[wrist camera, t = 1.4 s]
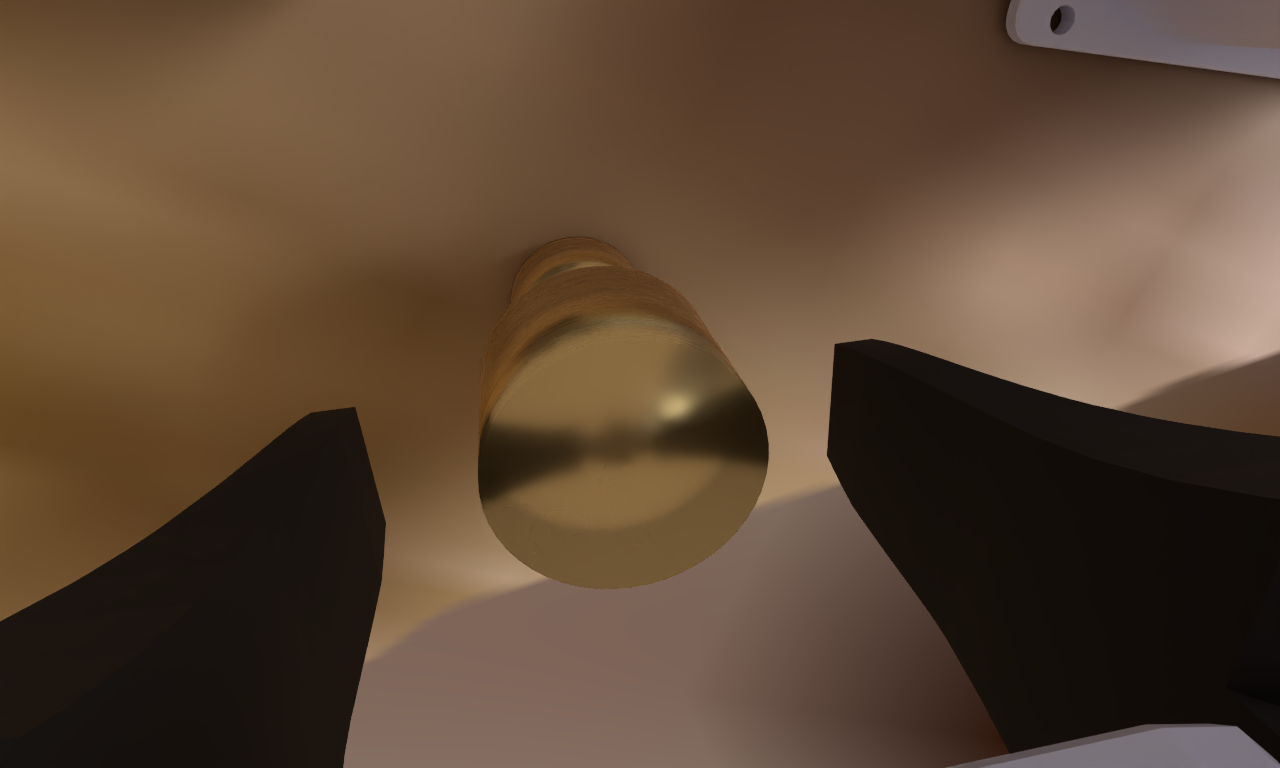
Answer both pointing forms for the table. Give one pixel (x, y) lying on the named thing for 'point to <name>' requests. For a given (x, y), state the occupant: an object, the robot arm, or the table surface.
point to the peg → (611, 424)
